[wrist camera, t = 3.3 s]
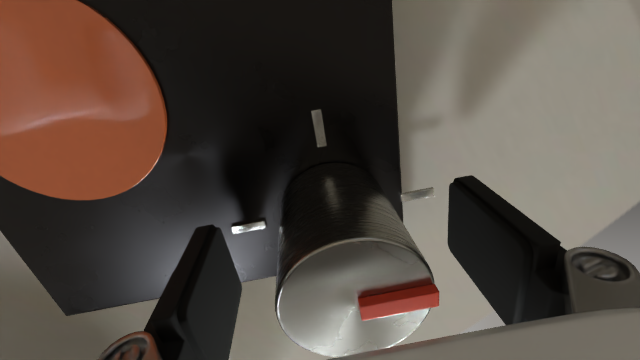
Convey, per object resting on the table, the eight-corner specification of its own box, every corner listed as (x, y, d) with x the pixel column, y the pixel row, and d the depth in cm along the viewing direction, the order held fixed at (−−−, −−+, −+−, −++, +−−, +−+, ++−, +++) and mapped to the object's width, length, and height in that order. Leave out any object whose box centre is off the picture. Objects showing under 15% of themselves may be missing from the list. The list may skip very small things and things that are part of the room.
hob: (108, 295, 17) (78, 338, 14) (-85, 0, 10) (-196, -11, 8) (413, 236, 17) (433, 269, 14) (402, -88, 11) (435, -125, 8)
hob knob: (292, 260, 14) (293, 380, 9) (269, 173, 12) (255, 267, 7) (387, 242, 14) (440, 351, 9) (380, 152, 12) (442, 231, 7)
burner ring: (15, 213, 11) (10, 216, 11) (-136, 4, 8) (-146, 4, 8) (195, 179, 12) (194, 181, 11) (111, -40, 8) (106, -42, 8)
